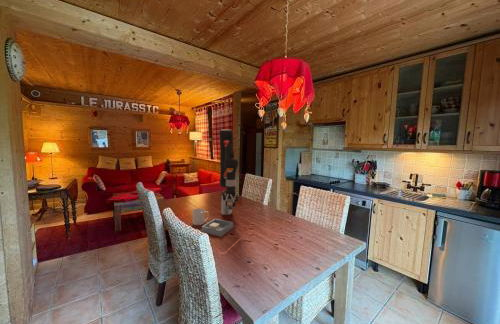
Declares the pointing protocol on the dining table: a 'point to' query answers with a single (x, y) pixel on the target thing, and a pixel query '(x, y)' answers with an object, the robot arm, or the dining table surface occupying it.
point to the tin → (230, 203)
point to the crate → (223, 227)
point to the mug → (199, 216)
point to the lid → (214, 224)
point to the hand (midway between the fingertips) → (230, 206)
